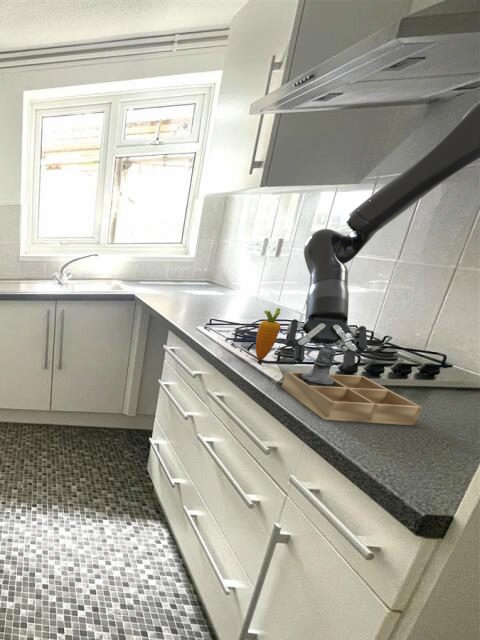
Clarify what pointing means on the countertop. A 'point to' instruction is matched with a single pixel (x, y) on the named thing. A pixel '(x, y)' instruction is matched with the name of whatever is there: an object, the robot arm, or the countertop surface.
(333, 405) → the wooden compartment tray
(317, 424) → the countertop surface
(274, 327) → the carrot
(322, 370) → the grey tall piece
